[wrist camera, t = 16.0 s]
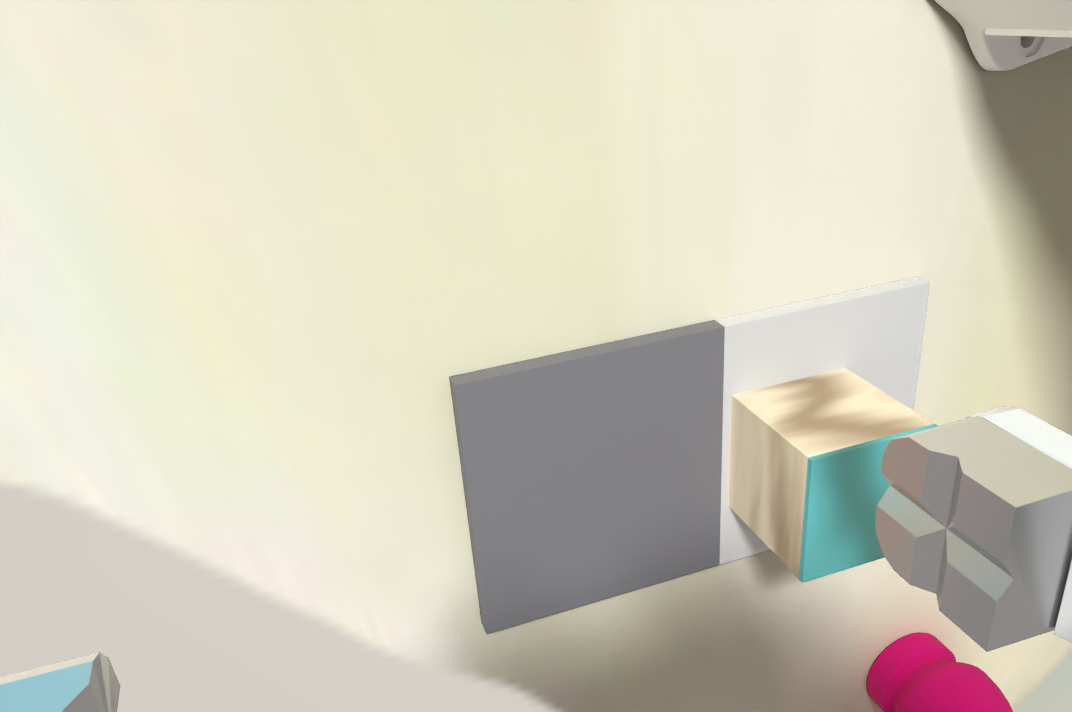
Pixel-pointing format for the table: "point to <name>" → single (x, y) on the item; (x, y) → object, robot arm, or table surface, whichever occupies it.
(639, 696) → the table surface
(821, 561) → the beech block
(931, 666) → the pepper mill
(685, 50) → the table surface
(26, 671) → the robot arm
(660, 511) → the mat
